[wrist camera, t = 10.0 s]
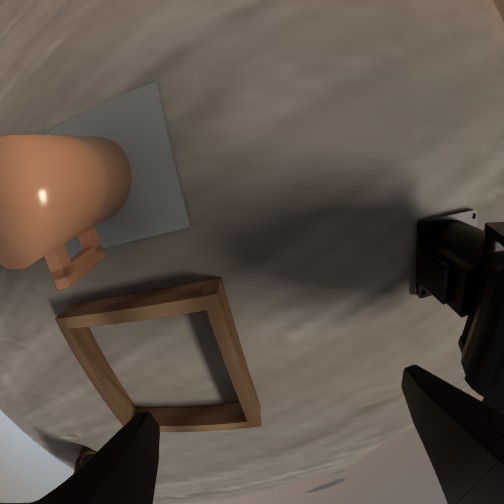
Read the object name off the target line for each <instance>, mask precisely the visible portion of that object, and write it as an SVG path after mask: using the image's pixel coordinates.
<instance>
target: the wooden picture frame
mask: <svg viewBox="0 0 504 504" xmlns="http://www.w3.org/2000/svg"><path fill="white" fill-rule="evenodd" d="M205 310H206V311H207V314H208V317H209V320H210V323H211V326H212V329H213V332H214V335H215V337H216V340H217V343H218V346H219V349H220V351H221V354H222V357H223V360H224V362H225V365H226V368H227V370H228V373H229V376H230V378H231V381H232V384H233V386H234V389H235V391H236V394H237V396H238V399H239V401H240V403H233V404H223V405H212V406H198V407H179V408H136V406H135V405H134V403H133V402H132V401H131V399H130V398H129V396H128V395H127V393H126V391H125V390H124V388H123V387H122V385H121V384H120V382H119V381H118V379H117V377H116V376H115V374H114V372H113V371H112V369H111V367H110V366H109V364H108V362H107V361H106V359H105V357H104V355H103V354H102V352H101V350H100V348H99V346H98V344H97V343H96V341H95V339H94V337H93V335H92V333H91V331H90V329H89V327H90V326H99V325H108V324H116V323H124V322H132V321H139V320H147V319H154V318H161V317H167V316H174V315H180V314H187V313H193V312H199V311H205ZM55 320H56V322H57V324H58V326H59V328H60V330H61V332H62V334H63V335H64V337H65V339H66V341H67V343H68V345H69V346H70V348H71V350H72V352H73V353H74V355H75V357H76V358H77V360H78V362H79V363H80V365H81V367H82V368H83V370H84V371H85V373H86V375H87V376H88V378H89V379H90V381H91V382H92V384H93V385H94V387H95V388H96V390H97V391H98V393H99V394H100V395H101V397H102V398H103V400H104V401H105V402H106V404H107V405H108V407H109V408H110V409H111V411H112V412H113V413H114V415H115V416H116V417H117V418H118V420H119V421H120V422H121V424H122V425H123V426H124V425H125V424H126V423H127V422H128V421H129V420H130V419H131V418H132V417H134V416H135V415H136V414H137V413H138V412H139V411H149V412H150V413H151V414H152V415H153V417H154V418H155V420H156V421H157V422H158V424H159V426H160V432H198V431H218V430H231V429H242V428H251V427H259V426H261V407H260V404H259V401H258V397H257V394H256V391H255V388H254V385H253V382H252V379H251V376H250V373H249V370H248V366H247V363H246V360H245V357H244V354H243V351H242V347H241V344H240V341H239V337H238V334H237V331H236V328H235V324H234V321H233V318H232V314H231V311H230V307H229V304H228V300H227V297H226V294H225V290H224V287H223V283H222V280H221V277H220V278H215V279H210V280H205V281H200V282H194V283H189V284H184V285H178V286H173V287H168V288H162V289H157V290H151V291H146V292H140V293H135V294H129V295H123V296H118V297H112V298H106V299H100V300H95V301H89V302H83V303H77V304H71V305H69V306H68V307H67V308H66V309H65V310H64V311H63V312H62V313H61V314H60V315H59V316H58V317H57V318H56V319H55Z"/></svg>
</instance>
